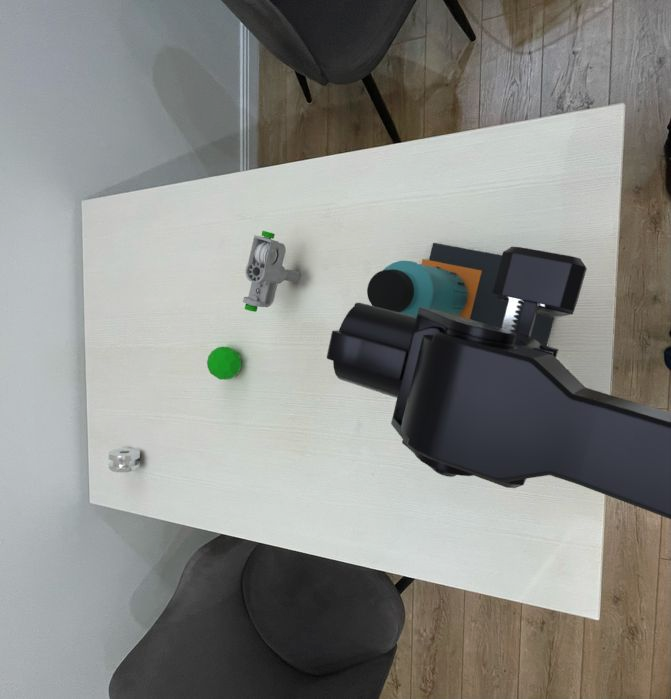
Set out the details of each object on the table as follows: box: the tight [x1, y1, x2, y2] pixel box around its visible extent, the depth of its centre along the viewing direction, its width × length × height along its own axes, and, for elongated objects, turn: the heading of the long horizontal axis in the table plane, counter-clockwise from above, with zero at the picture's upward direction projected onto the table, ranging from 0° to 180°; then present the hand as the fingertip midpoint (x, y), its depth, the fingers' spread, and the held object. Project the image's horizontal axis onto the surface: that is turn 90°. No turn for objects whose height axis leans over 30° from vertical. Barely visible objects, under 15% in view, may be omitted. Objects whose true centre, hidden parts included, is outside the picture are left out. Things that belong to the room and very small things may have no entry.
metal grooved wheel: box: [108, 447, 141, 474], centre depth 92 cm, size 5×3×5 cm, turn 87°
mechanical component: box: [242, 230, 302, 313], centre depth 73 cm, size 3×10×10 cm, turn 163°
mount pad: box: [421, 242, 555, 346], centre depth 65 cm, size 17×12×1 cm
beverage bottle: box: [366, 260, 468, 317], centre depth 58 cm, size 6×7×20 cm
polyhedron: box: [206, 346, 242, 380], centre depth 81 cm, size 5×5×5 cm
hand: (528, 360), depth 51 cm, fingers open, 9 cm apart
